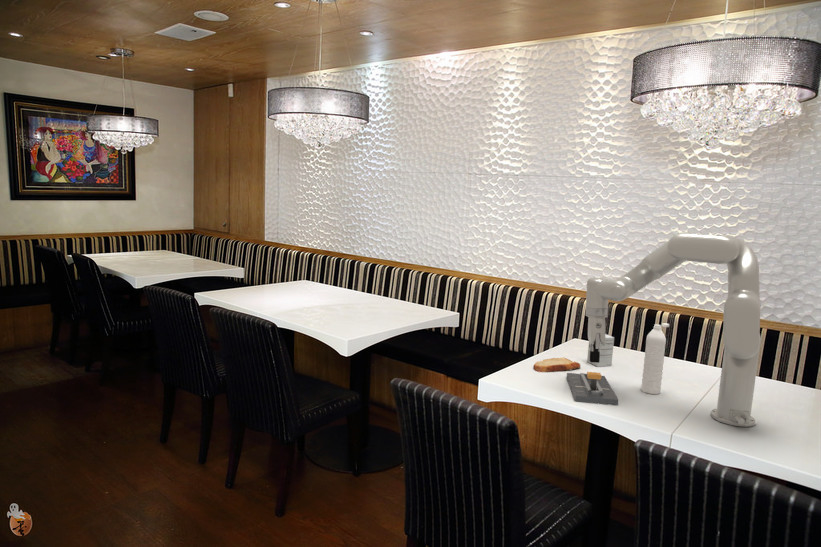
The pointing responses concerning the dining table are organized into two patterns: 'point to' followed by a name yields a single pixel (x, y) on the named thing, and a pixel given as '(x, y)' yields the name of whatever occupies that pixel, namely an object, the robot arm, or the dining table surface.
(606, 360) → the supplement box
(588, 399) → the console
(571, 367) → the bread slice
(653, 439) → the dining table surface
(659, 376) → the water bottle
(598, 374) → the fader tab
